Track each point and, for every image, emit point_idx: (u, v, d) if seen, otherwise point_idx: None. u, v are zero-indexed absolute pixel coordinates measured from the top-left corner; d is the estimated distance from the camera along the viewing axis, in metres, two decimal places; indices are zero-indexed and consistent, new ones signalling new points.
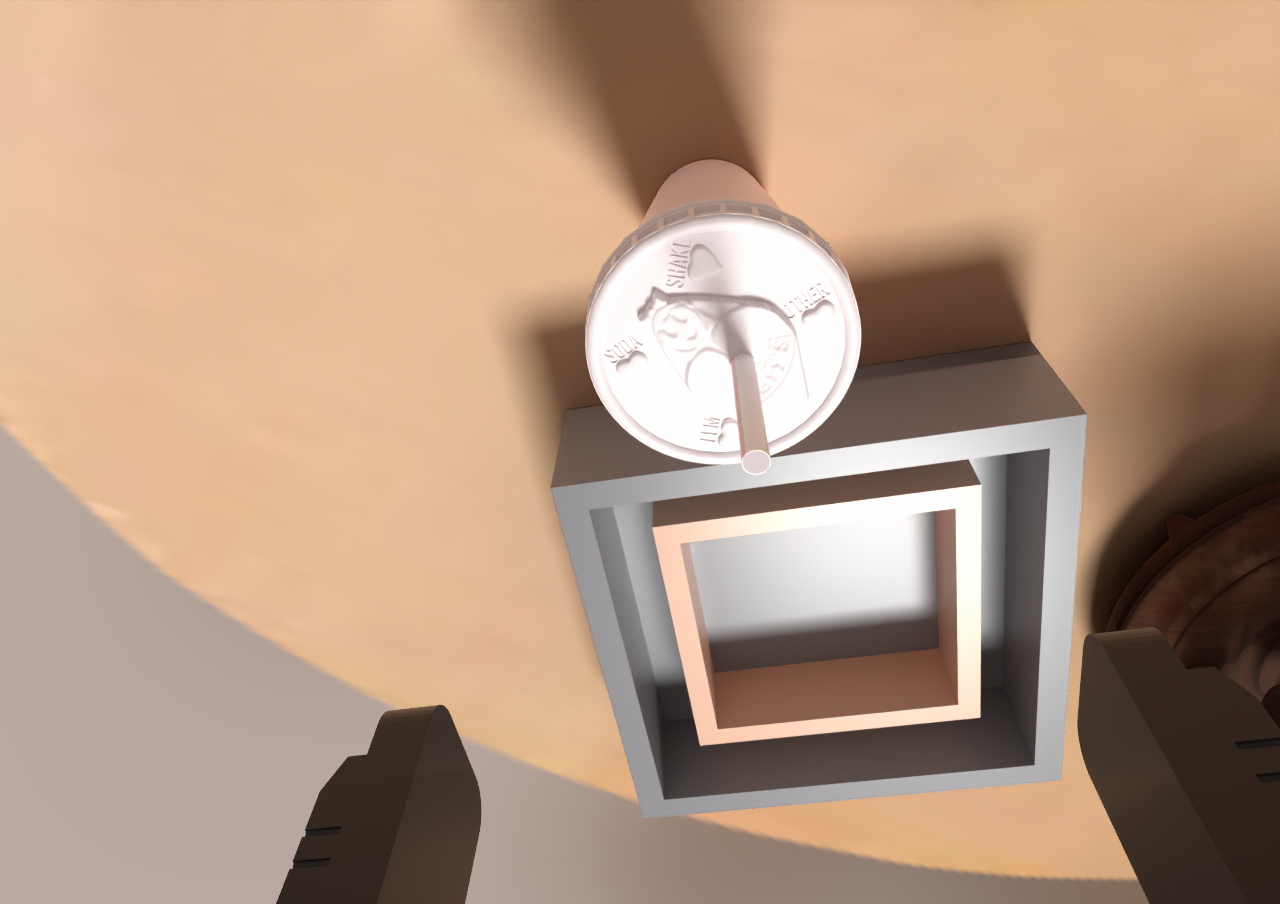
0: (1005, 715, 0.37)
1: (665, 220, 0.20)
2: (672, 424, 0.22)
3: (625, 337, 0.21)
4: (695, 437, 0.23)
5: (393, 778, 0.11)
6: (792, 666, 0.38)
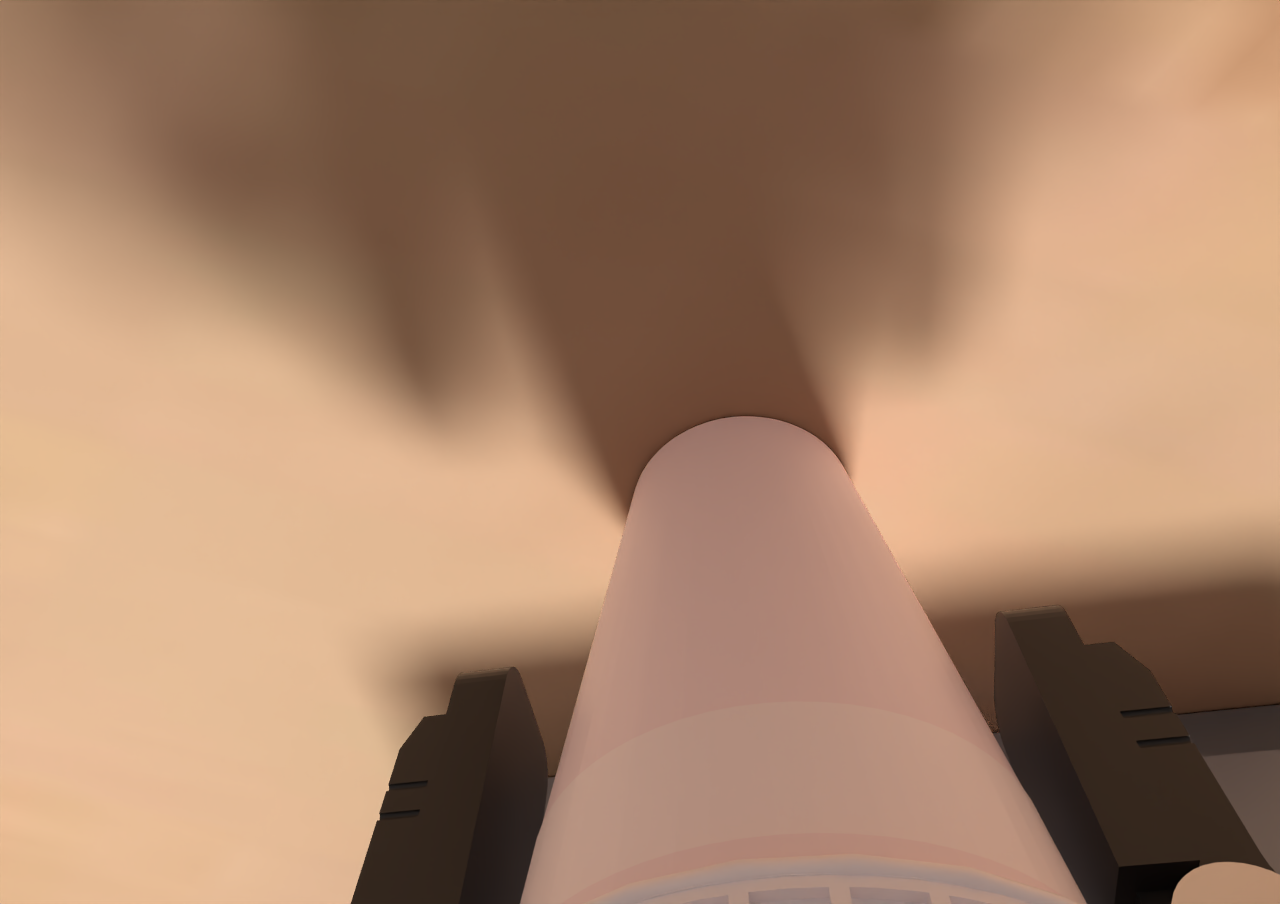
0: None
1: None
2: None
3: None
4: None
5: (474, 734, 0.11)
6: None
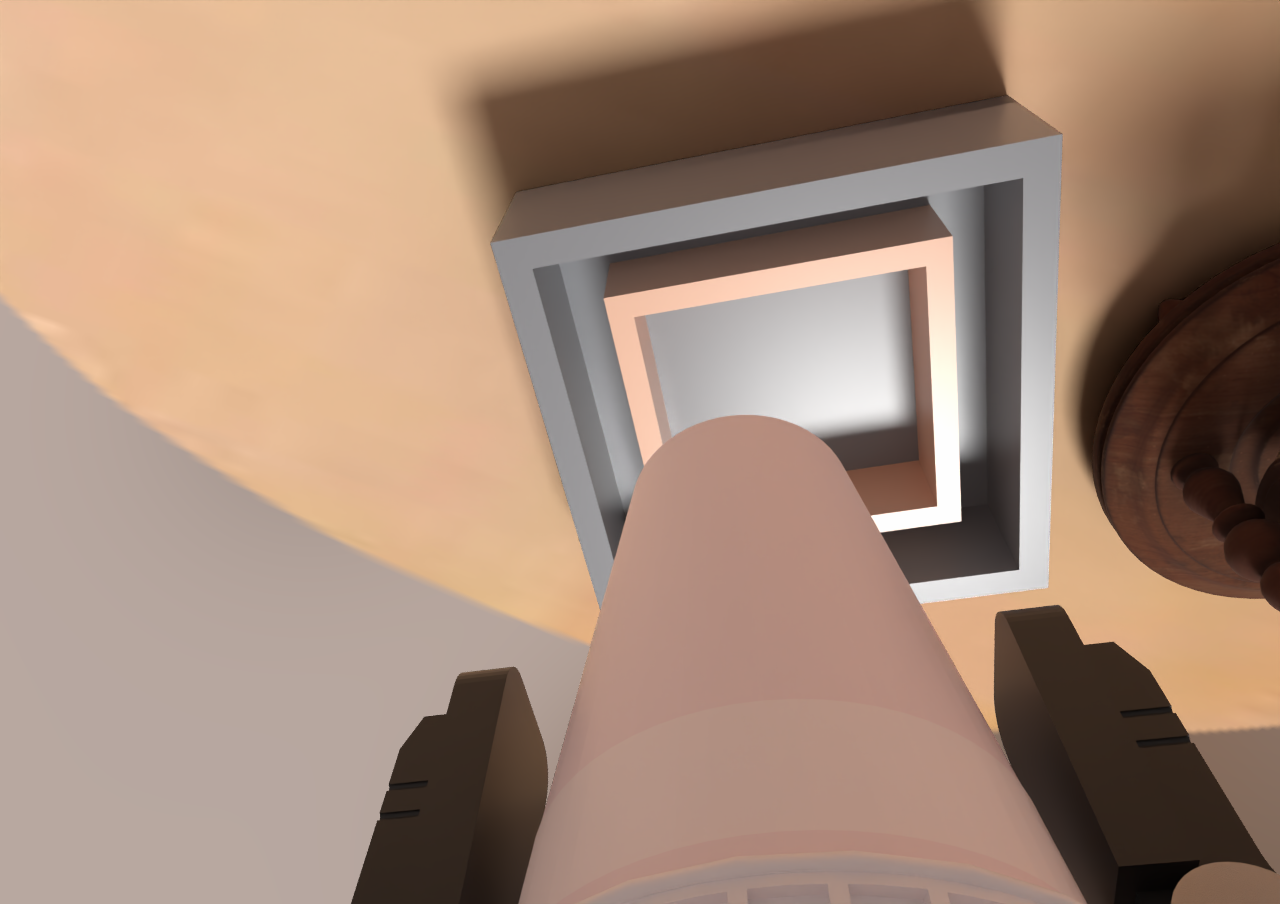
0: (990, 528, 0.35)
1: None
2: None
3: None
4: None
5: (475, 734, 0.11)
6: None
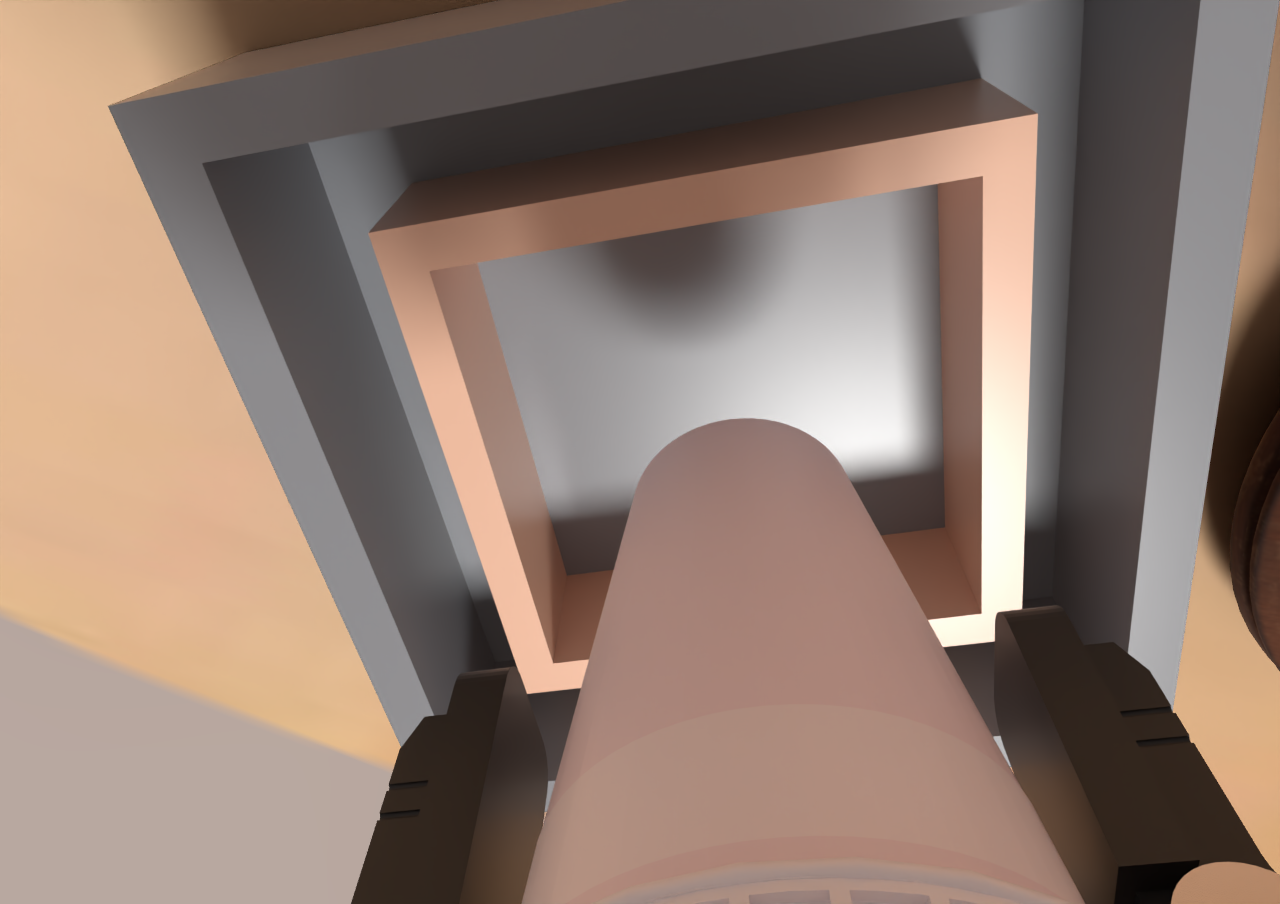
0: None
1: None
2: None
3: None
4: None
5: (475, 734, 0.11)
6: None
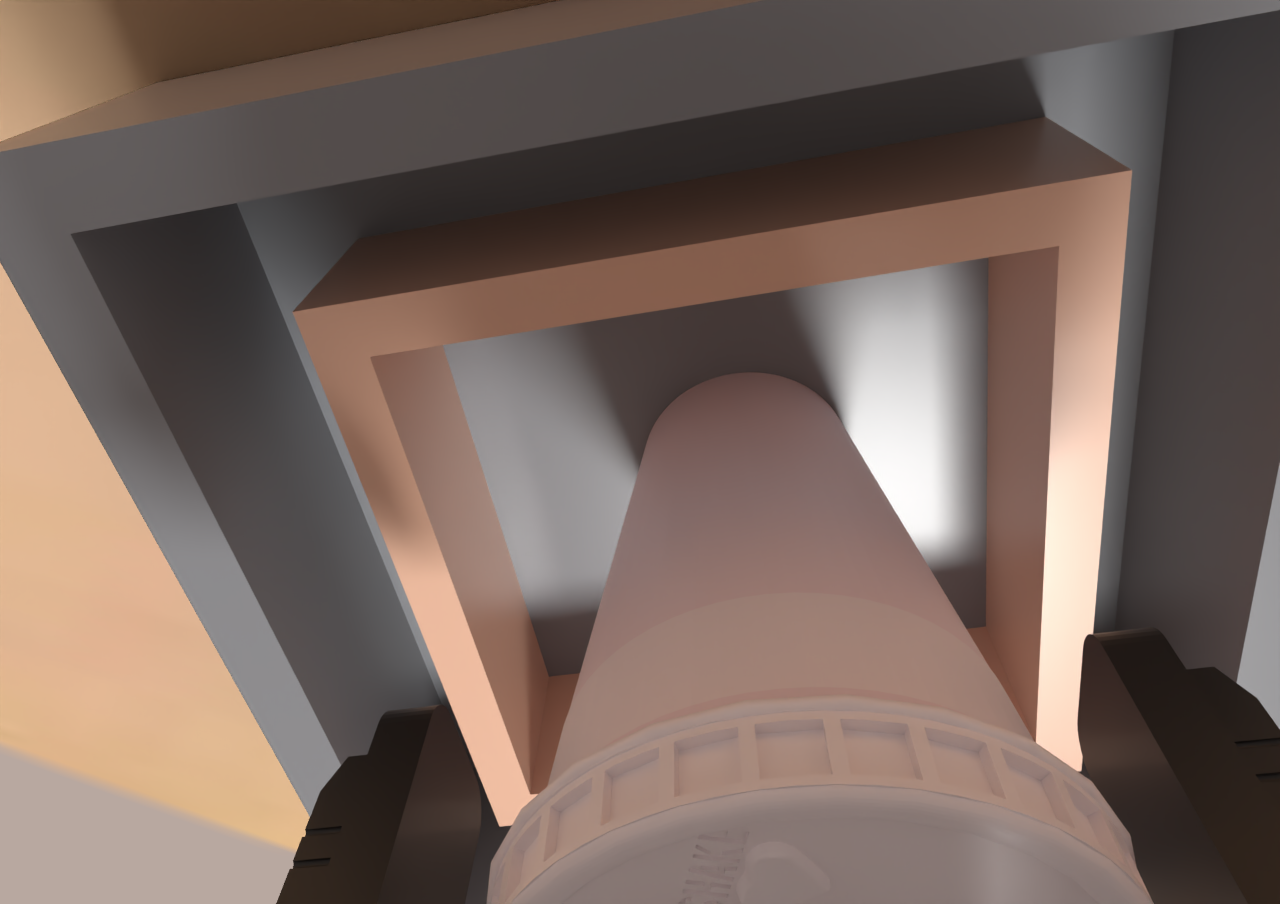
0: None
1: (679, 747, 0.08)
2: None
3: None
4: None
5: (393, 778, 0.11)
6: None
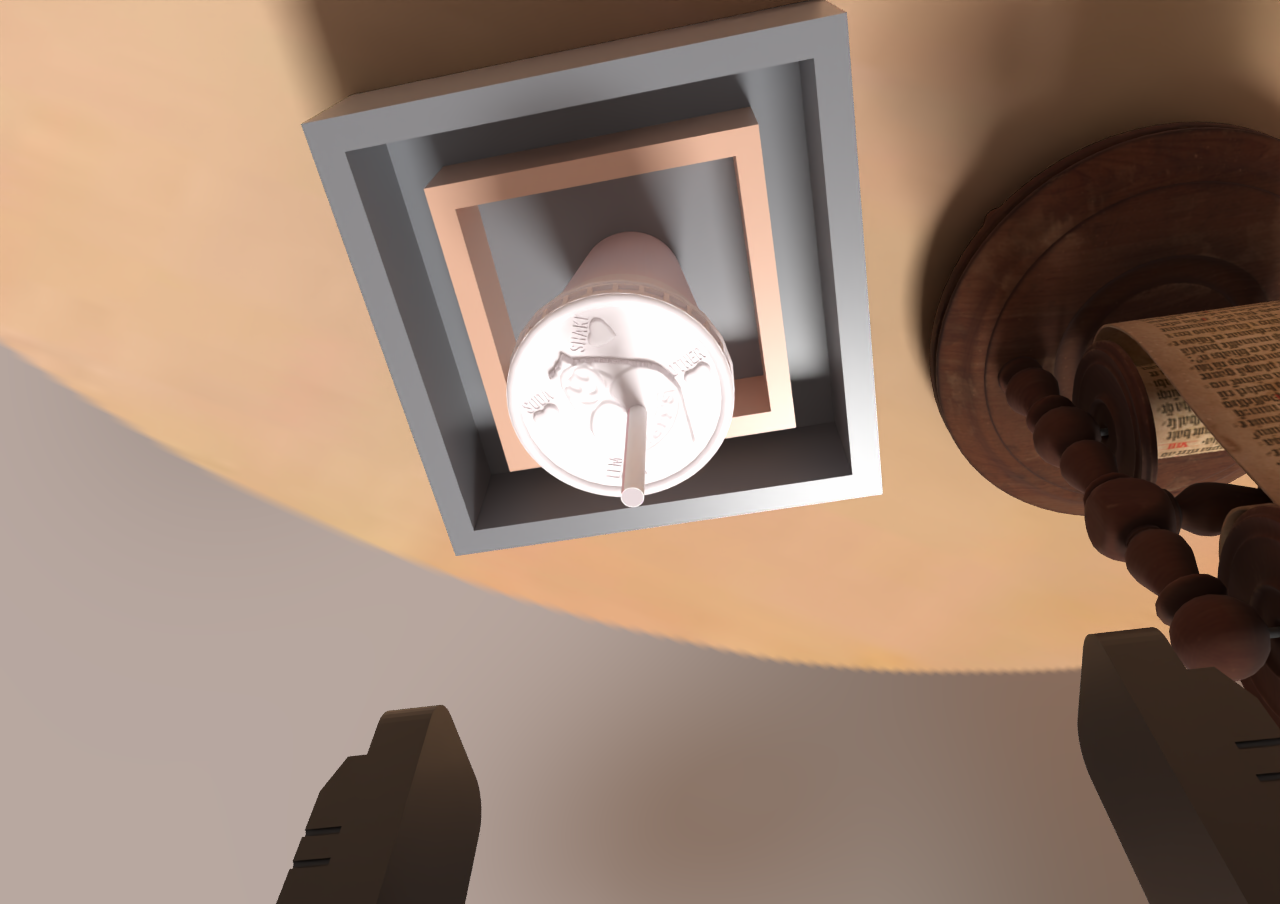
0: (832, 441, 0.35)
1: (569, 297, 0.25)
2: (582, 463, 0.27)
3: (540, 392, 0.26)
4: (602, 474, 0.27)
5: (393, 778, 0.11)
6: None
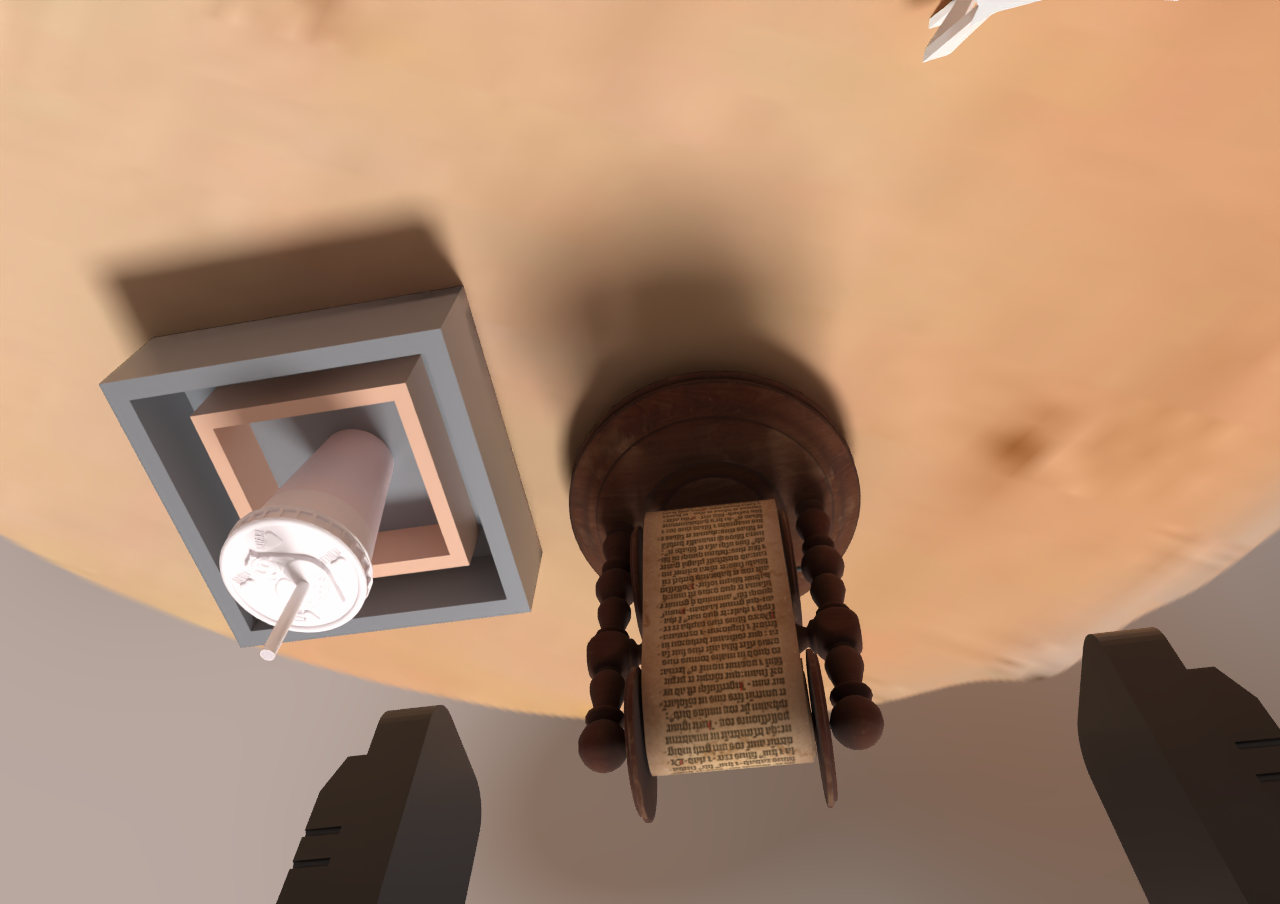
0: None
1: (254, 515, 0.39)
2: (277, 612, 0.41)
3: (241, 571, 0.40)
4: None
5: (393, 778, 0.11)
6: None
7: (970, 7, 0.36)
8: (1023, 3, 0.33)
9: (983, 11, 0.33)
